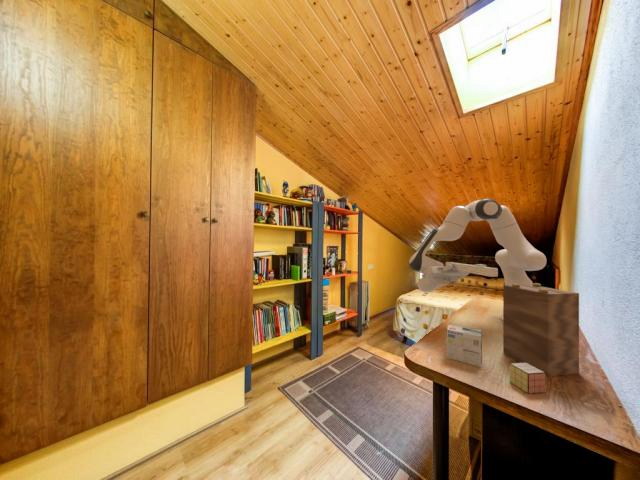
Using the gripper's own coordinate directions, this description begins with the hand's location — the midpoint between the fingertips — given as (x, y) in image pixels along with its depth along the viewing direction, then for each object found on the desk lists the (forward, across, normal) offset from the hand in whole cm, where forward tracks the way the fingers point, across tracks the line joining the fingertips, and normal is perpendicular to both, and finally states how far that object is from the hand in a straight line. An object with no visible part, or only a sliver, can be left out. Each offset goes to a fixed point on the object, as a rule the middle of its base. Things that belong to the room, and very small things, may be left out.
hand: (456, 265), depth 103 cm
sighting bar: (+5, 0, +5) cm, 7 cm away
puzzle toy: (+15, -6, +45) cm, 48 cm away
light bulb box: (0, -12, +37) cm, 39 cm away
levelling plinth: (+5, +12, +40) cm, 42 cm away
